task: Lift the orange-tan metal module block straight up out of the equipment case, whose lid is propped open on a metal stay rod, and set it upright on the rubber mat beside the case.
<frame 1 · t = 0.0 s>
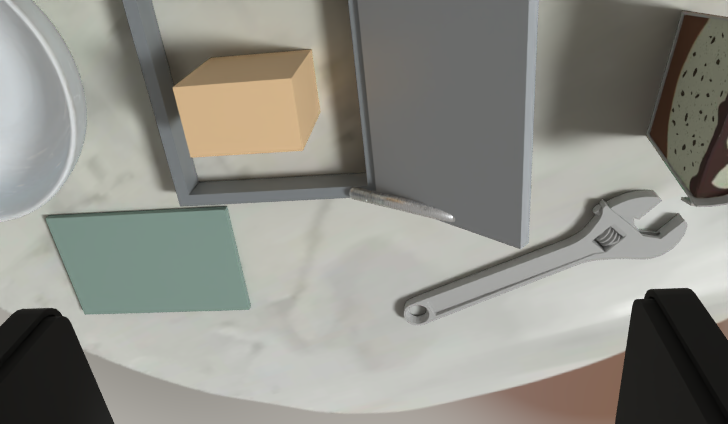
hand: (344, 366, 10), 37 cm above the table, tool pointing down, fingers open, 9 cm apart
module: (266, 85, 46), resting in equipment case
rubber mat: (152, 261, 55), on the table
adjustable wrench: (529, 253, 52), on the table
food container: (704, 78, 43), on the table
equipment case: (266, 85, 46), on the table
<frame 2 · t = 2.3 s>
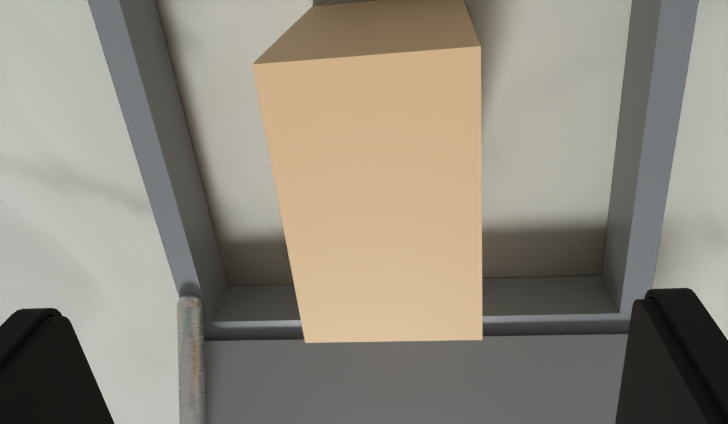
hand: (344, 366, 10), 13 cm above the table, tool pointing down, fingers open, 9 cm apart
module: (394, 112, 21), resting in equipment case
equipment case: (394, 113, 21), on the table
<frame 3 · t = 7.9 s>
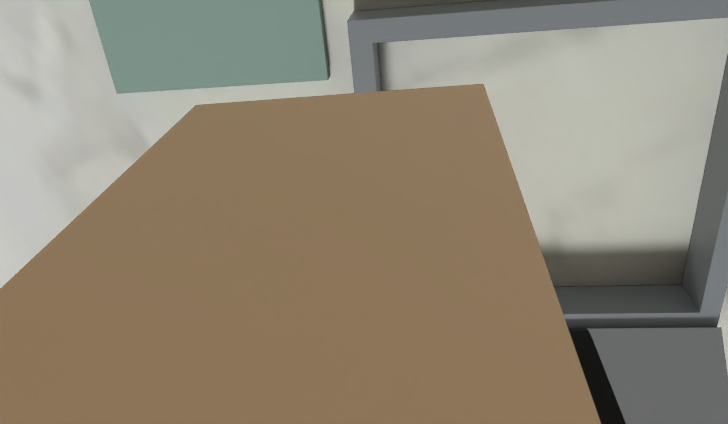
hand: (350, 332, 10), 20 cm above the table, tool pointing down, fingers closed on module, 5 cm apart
module: (359, 285, 12), point 19 cm above the table, touching gripper
equipment case: (541, 168, 30), on the table
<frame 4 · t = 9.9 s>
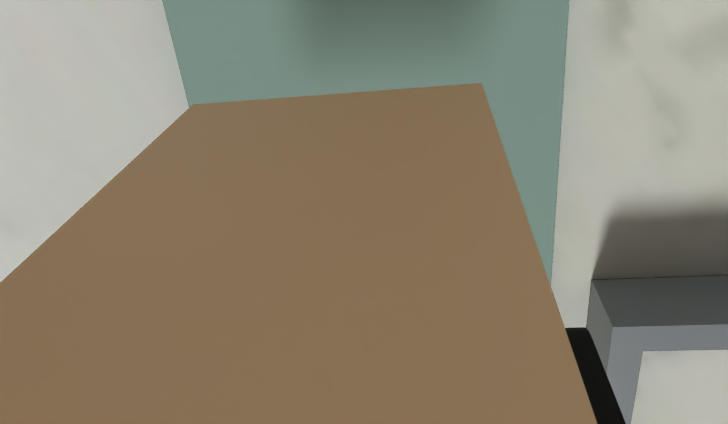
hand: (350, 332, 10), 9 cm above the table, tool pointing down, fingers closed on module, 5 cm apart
module: (357, 285, 12), point 7 cm above the table, touching gripper
rubber mat: (376, 145, 18), on the table
when the fingers open (3 cm above the table, at t = 11.5 s): module stays where it is, resting on rubber mat.
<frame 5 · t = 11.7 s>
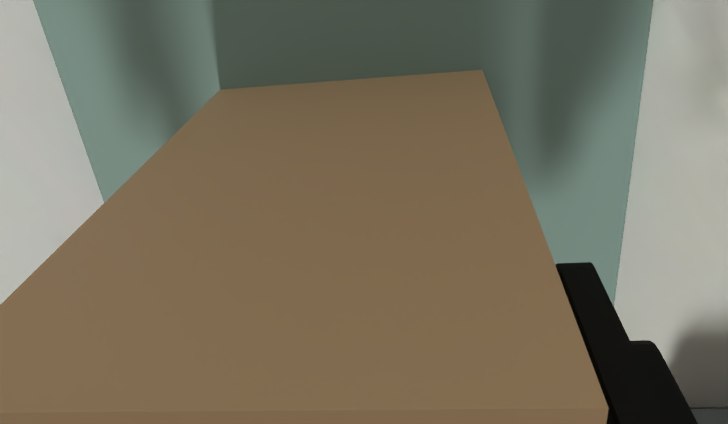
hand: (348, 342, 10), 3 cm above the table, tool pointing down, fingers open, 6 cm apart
module: (367, 258, 13), point 1 cm above the table, touching rubber mat
rubber mat: (363, 240, 13), on the table
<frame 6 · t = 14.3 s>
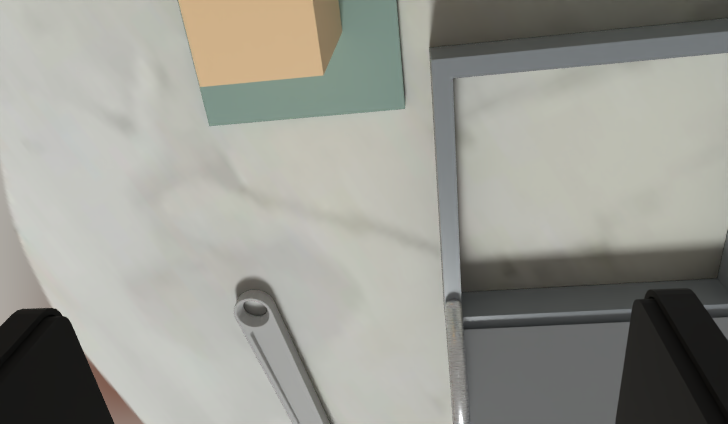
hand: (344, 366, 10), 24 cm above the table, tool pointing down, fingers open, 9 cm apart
adjustable wrench: (323, 412, 45), on the table
equipment case: (594, 180, 33), on the table
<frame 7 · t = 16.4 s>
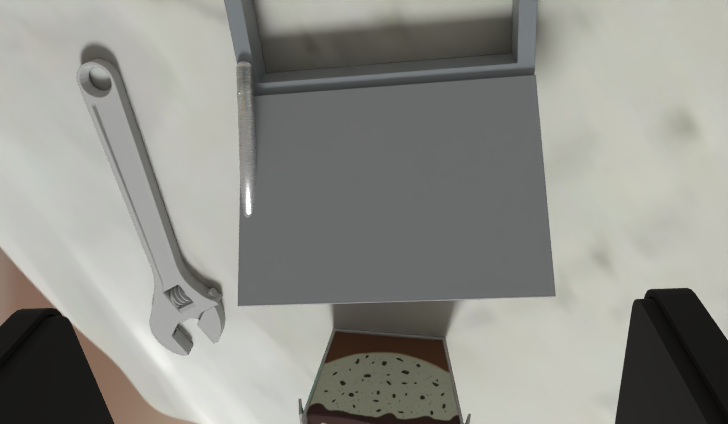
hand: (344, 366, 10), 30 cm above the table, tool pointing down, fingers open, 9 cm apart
adjustable wrench: (167, 218, 45), on the table
food container: (387, 358, 50), on the table
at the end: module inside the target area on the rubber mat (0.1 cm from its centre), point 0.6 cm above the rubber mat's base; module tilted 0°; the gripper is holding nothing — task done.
